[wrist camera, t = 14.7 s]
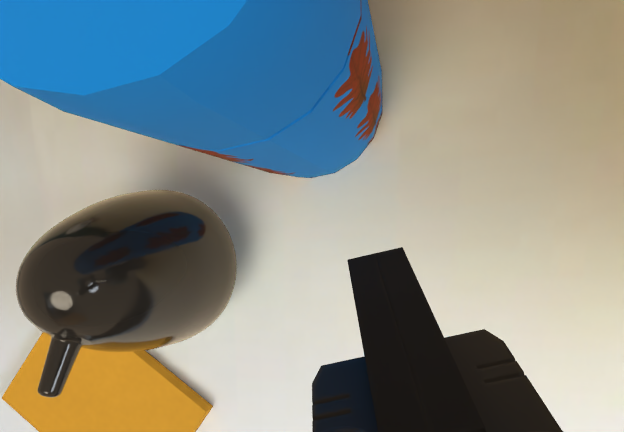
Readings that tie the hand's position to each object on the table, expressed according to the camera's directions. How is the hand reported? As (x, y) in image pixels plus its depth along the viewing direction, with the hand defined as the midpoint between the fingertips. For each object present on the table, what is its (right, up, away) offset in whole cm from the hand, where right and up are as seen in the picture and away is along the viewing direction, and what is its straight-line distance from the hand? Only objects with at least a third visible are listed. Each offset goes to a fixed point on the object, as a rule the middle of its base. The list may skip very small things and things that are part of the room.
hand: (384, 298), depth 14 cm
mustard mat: (-18, -12, +25) cm, 33 cm away
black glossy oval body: (-11, -1, +24) cm, 26 cm away
